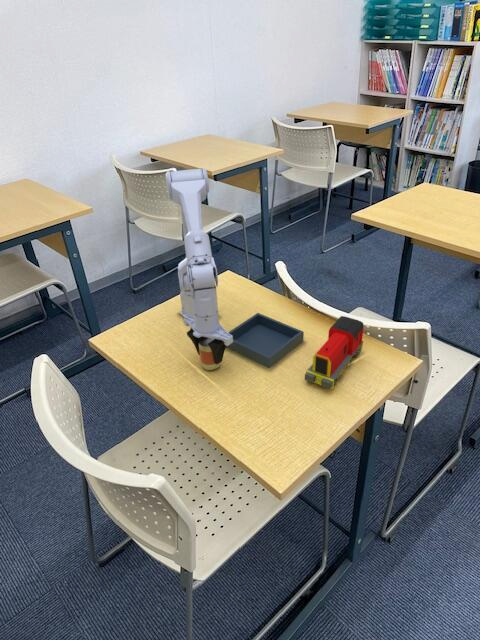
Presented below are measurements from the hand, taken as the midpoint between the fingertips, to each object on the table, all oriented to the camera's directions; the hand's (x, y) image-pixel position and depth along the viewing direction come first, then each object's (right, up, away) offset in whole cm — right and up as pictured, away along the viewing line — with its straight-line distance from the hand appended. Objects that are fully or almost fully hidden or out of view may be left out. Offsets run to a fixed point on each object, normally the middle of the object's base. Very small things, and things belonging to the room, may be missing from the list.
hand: (210, 357), depth 119 cm
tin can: (0, -2, +1) cm, 2 cm away
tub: (+14, +3, +9) cm, 16 cm away
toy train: (+31, -3, -1) cm, 31 cm away
